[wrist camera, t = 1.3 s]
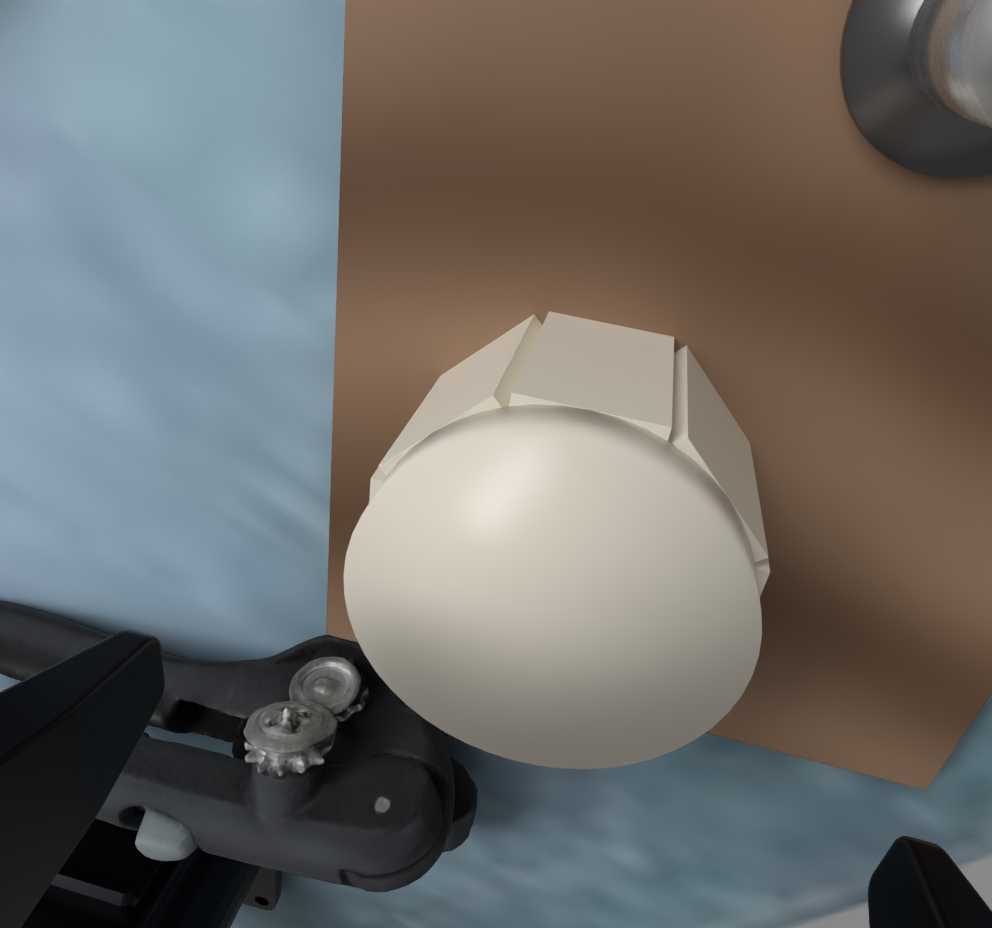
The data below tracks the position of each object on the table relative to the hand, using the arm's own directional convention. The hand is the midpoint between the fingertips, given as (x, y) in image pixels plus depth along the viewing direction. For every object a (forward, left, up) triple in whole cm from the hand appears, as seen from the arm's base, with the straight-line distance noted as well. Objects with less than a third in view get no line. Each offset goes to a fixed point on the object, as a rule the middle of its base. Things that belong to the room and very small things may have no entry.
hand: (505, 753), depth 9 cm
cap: (0, 0, -7) cm, 7 cm away
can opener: (-10, +9, -8) cm, 16 cm away
